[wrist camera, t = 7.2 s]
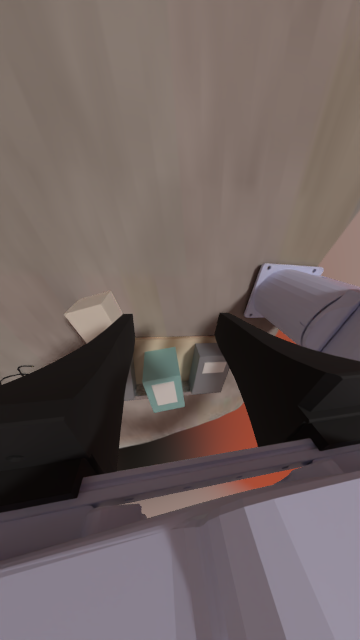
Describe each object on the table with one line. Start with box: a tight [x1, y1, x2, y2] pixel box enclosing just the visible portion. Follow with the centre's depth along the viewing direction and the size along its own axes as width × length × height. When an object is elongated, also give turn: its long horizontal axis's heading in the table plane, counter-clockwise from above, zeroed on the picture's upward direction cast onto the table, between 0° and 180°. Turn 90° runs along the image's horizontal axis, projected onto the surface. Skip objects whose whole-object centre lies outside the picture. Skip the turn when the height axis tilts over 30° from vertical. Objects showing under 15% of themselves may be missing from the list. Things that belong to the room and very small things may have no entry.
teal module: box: [142, 347, 185, 413], centre depth 24 cm, size 5×8×6 cm, turn 5°
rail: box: [134, 380, 192, 400], centre depth 28 cm, size 21×1×2 cm, turn 85°
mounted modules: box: [124, 343, 229, 401], centre depth 25 cm, size 21×10×3 cm, turn 85°
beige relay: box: [64, 291, 123, 343], centre depth 19 cm, size 4×6×4 cm, turn 13°
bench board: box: [133, 336, 217, 384], centre depth 26 cm, size 22×12×1 cm, turn 85°
